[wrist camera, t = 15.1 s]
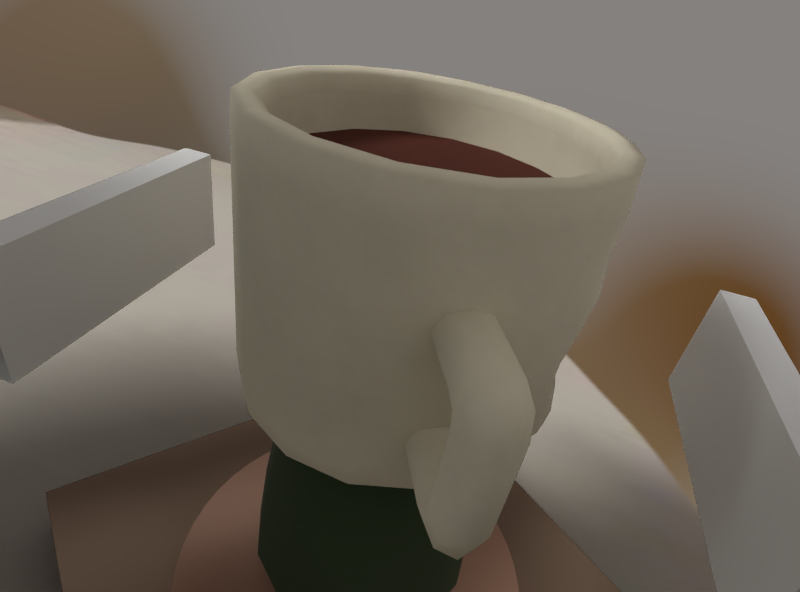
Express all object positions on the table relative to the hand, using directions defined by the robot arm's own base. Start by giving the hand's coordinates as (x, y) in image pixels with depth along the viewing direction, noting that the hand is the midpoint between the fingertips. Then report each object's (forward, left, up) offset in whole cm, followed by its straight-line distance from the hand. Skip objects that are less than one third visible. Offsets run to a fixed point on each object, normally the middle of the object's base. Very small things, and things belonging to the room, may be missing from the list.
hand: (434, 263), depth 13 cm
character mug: (+1, -2, -9) cm, 9 cm away
